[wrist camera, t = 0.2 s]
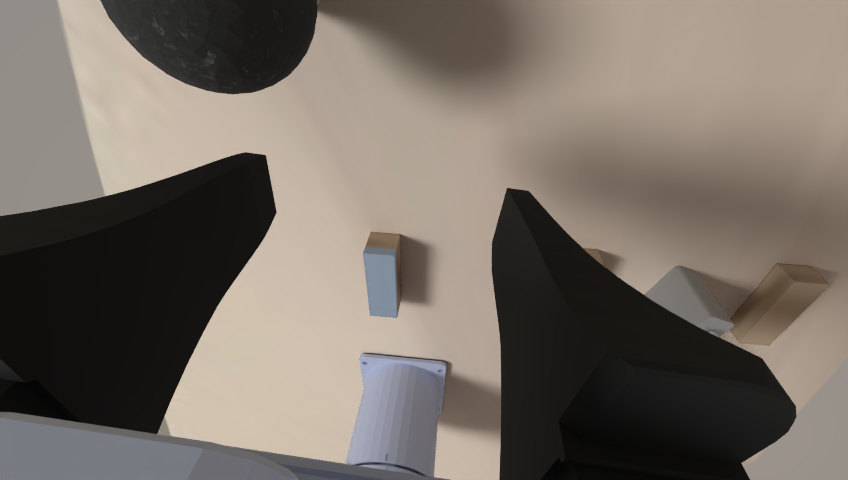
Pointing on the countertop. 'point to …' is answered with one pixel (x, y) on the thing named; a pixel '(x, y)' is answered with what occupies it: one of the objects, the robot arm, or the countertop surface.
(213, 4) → the light bulb
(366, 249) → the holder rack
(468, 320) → the countertop surface
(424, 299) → the countertop surface
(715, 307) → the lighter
